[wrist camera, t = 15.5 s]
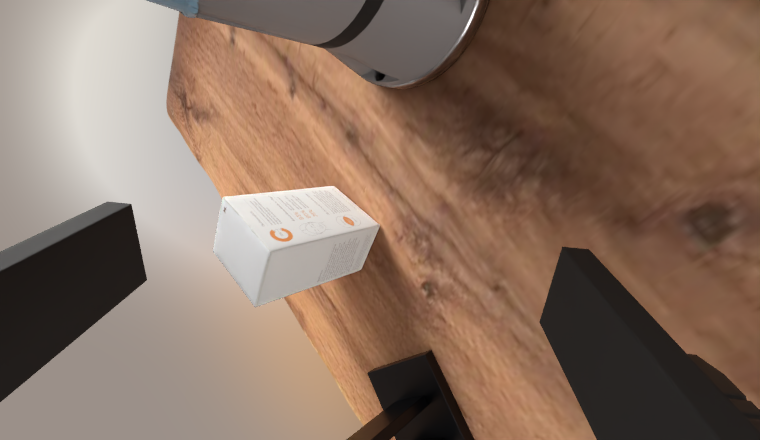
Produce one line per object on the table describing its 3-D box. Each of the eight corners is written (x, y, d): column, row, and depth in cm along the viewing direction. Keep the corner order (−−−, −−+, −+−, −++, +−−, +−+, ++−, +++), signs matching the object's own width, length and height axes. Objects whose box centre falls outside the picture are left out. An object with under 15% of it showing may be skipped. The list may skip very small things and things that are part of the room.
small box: (318, 229, 45) (210, 251, 35) (334, 184, 42) (221, 194, 32) (362, 272, 41) (253, 310, 31) (382, 225, 38) (269, 251, 28)
